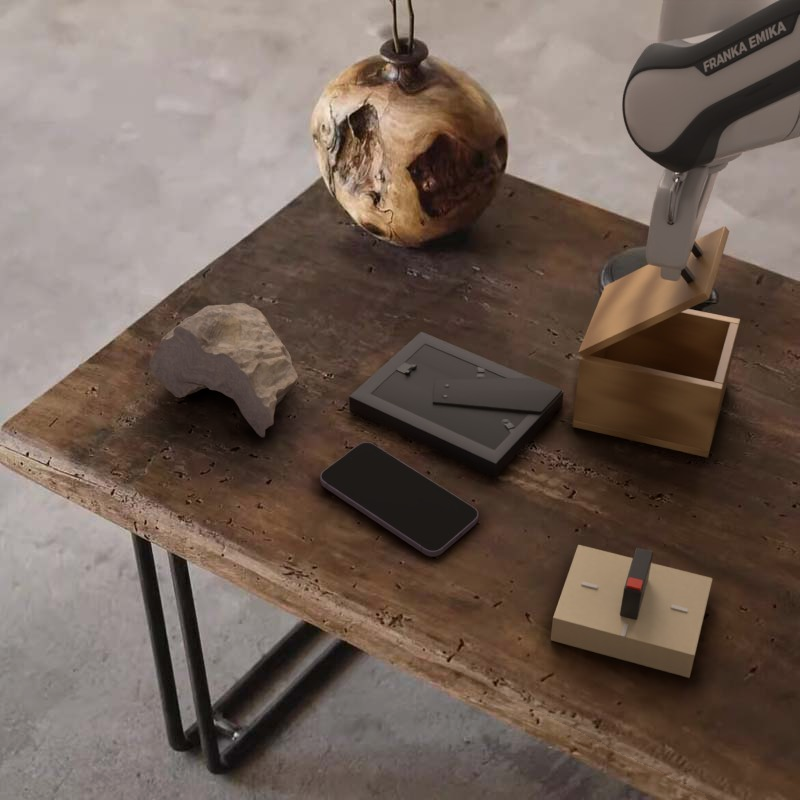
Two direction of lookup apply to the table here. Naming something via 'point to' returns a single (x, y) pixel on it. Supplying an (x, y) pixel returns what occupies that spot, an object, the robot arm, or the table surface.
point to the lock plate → (623, 637)
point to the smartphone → (399, 498)
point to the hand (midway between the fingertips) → (677, 256)
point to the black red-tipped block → (636, 583)
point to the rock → (227, 360)
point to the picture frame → (457, 403)
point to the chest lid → (653, 295)
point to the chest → (660, 383)
